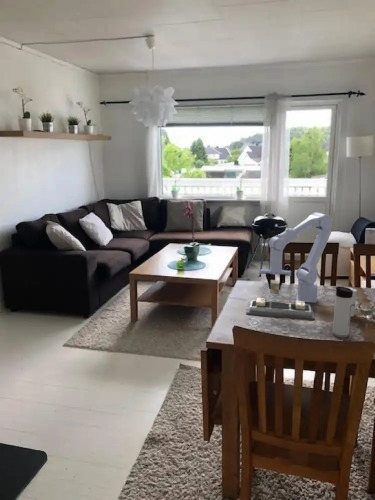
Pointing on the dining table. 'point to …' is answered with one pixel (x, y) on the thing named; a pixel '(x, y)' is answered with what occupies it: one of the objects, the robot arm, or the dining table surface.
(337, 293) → the travel mug
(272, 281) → the birch block
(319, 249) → the robot arm
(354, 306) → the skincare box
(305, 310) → the rail
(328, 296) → the dining table surface
